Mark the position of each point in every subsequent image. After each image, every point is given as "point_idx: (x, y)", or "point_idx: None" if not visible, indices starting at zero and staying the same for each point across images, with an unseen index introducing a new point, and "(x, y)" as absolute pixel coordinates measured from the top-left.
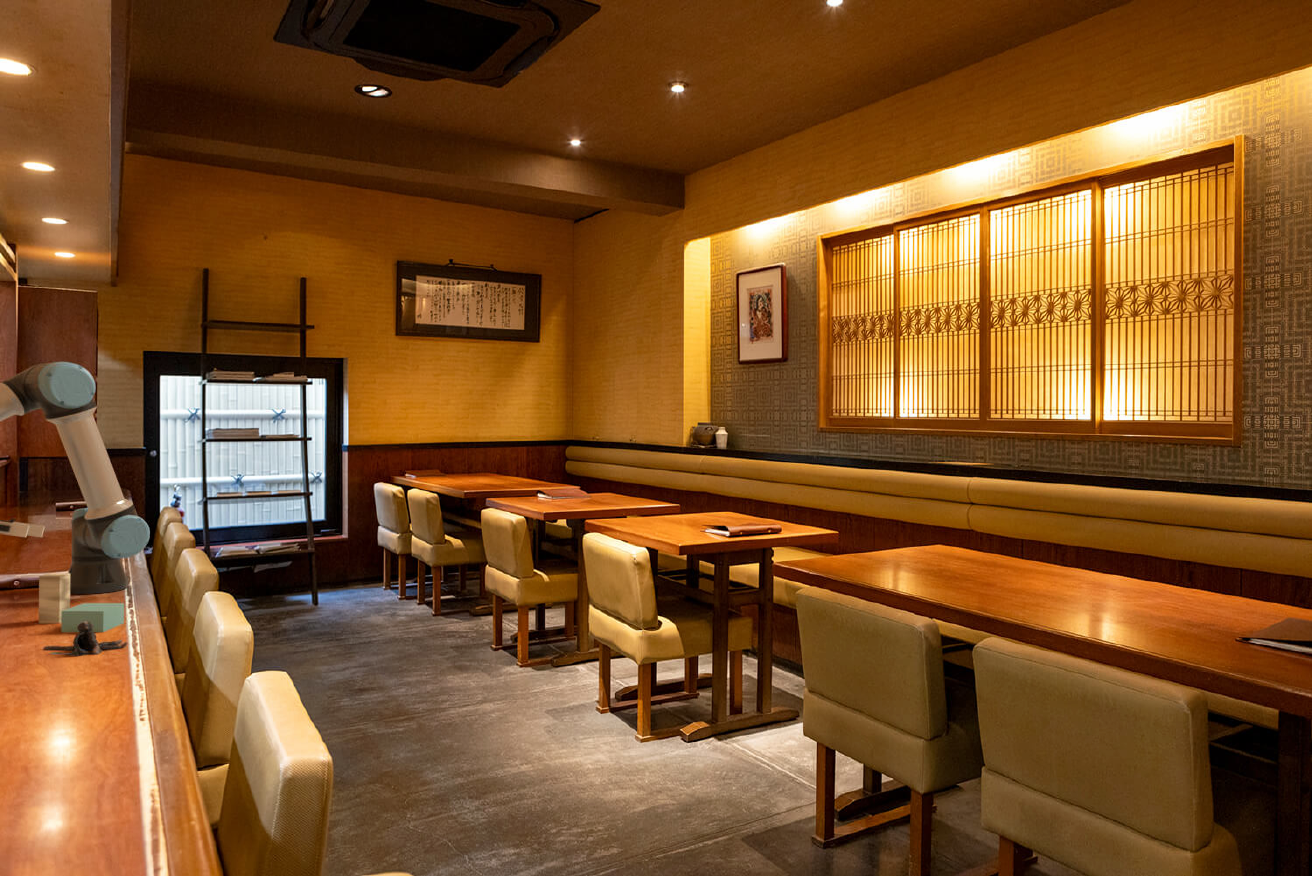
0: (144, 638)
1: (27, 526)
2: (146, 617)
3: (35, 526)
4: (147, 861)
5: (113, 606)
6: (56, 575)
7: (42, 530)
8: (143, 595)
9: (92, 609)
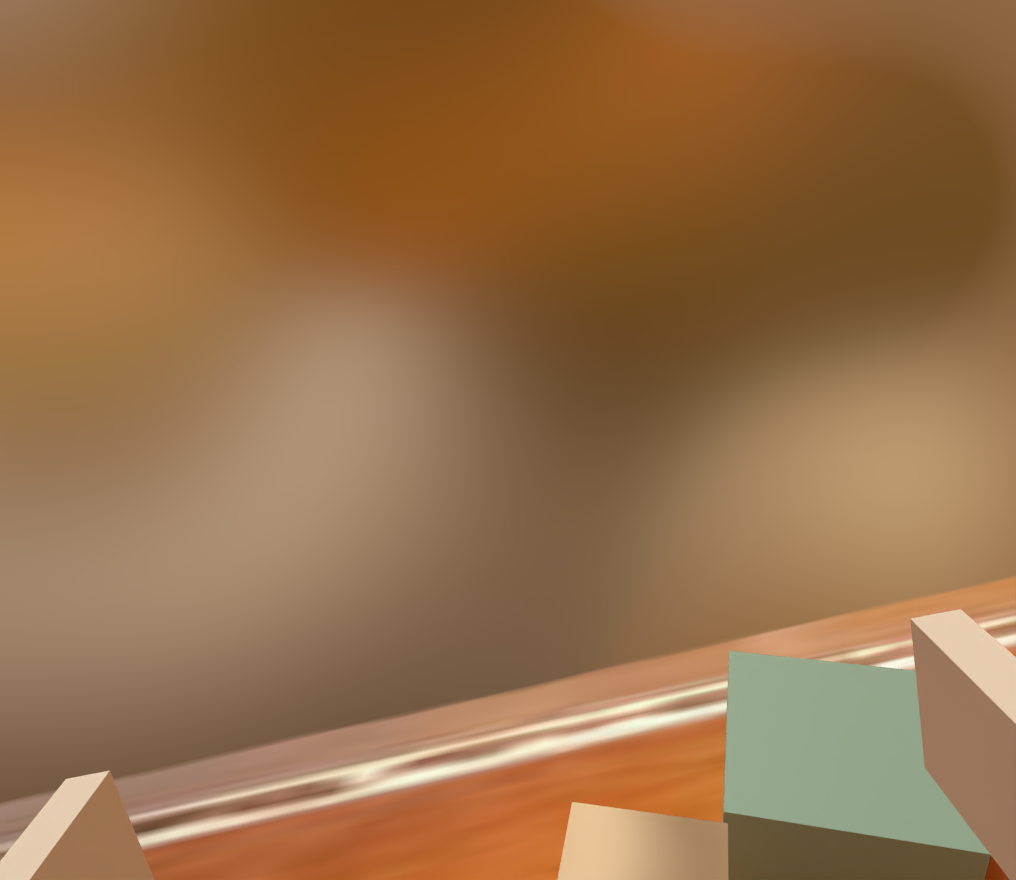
0: (997, 606)
1: (970, 625)
2: (607, 678)
3: (56, 872)
4: None
5: (816, 666)
6: (678, 861)
7: (131, 826)
8: (13, 807)
9: (907, 723)
